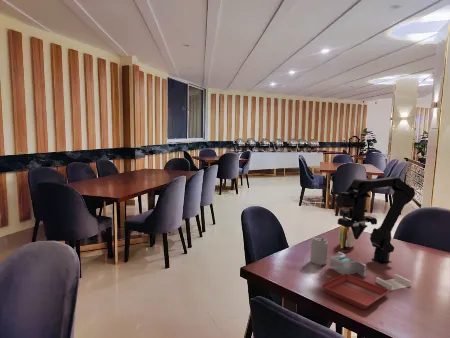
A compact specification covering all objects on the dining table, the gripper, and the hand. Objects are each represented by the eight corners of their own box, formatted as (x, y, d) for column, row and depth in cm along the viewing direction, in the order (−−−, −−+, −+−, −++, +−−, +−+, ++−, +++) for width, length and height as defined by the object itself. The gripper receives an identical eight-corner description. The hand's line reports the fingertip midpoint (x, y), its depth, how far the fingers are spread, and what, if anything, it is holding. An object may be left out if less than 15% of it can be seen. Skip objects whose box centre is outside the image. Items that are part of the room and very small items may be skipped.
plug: (349, 267, 141) (350, 258, 140) (356, 271, 137) (357, 261, 137) (337, 269, 138) (337, 260, 138) (343, 273, 134) (344, 263, 134)
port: (338, 262, 146) (339, 251, 145) (365, 277, 131) (366, 265, 130) (324, 264, 143) (324, 253, 142) (349, 280, 128) (350, 267, 127)
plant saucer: (344, 280, 129) (345, 272, 128) (389, 298, 115) (390, 289, 115) (319, 293, 117) (320, 285, 117) (366, 315, 104) (367, 305, 103)
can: (327, 266, 141) (329, 241, 139) (310, 265, 142) (312, 240, 141) (325, 260, 148) (327, 236, 147) (309, 258, 150) (311, 235, 148)
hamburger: (352, 251, 162) (354, 229, 160) (336, 247, 166) (337, 226, 165) (357, 244, 172) (358, 223, 170) (341, 241, 176) (343, 221, 175)
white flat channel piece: (395, 279, 130) (395, 273, 130) (410, 287, 123) (411, 281, 123) (375, 283, 126) (376, 277, 126) (390, 291, 119) (390, 285, 119)
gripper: (360, 201, 153) (358, 232, 155) (330, 203, 147) (328, 235, 148) (379, 206, 143) (376, 239, 145) (347, 209, 136) (345, 243, 138)
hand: (356, 239), depth 144 cm, fingers closed
